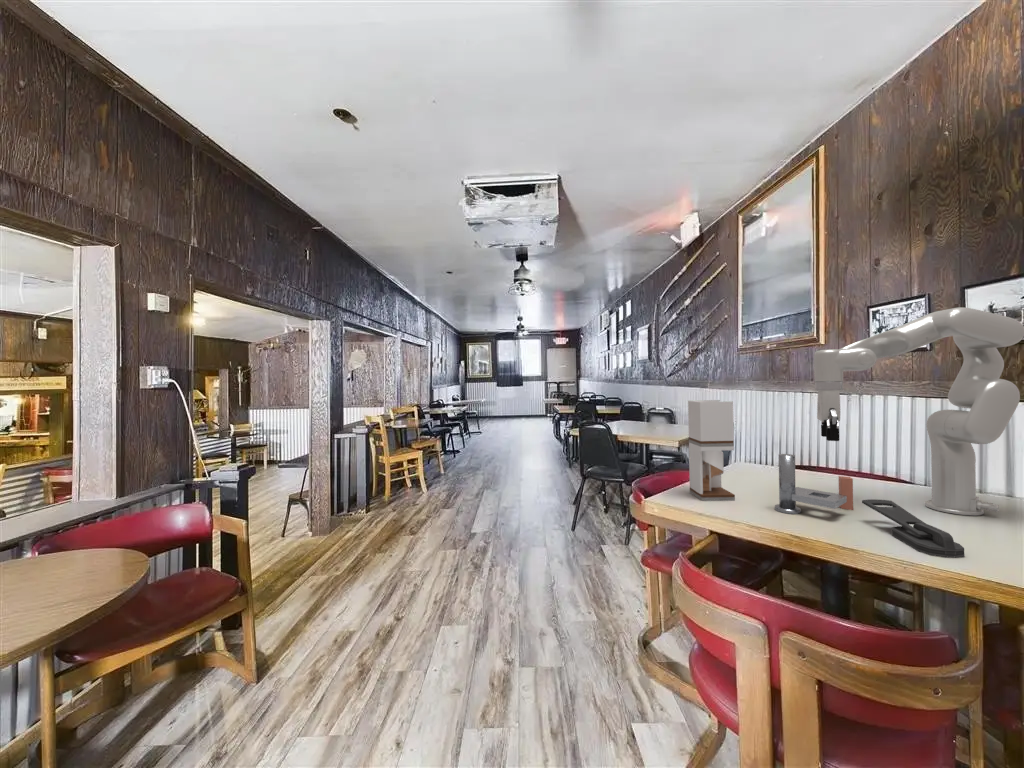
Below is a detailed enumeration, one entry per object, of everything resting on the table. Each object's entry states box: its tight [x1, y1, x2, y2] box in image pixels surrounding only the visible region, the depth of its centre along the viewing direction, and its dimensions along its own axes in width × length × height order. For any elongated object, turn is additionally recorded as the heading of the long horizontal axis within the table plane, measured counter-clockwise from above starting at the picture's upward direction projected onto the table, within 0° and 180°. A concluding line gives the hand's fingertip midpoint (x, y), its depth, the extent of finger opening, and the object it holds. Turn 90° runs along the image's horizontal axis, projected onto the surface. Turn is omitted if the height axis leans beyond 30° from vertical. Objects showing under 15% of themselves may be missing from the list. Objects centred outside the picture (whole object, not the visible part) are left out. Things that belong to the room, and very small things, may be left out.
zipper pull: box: [861, 498, 965, 559], centre depth 108 cm, size 9×7×25 cm
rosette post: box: [774, 453, 847, 515], centre depth 129 cm, size 16×13×18 cm
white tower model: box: [687, 399, 736, 502], centre depth 148 cm, size 11×11×35 cm
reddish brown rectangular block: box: [838, 475, 854, 511], centre depth 132 cm, size 3×3×10 cm
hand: (830, 438), depth 134 cm, fingers open, 9 cm apart
